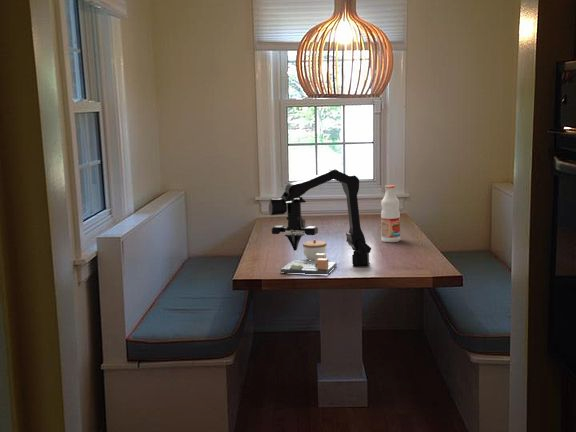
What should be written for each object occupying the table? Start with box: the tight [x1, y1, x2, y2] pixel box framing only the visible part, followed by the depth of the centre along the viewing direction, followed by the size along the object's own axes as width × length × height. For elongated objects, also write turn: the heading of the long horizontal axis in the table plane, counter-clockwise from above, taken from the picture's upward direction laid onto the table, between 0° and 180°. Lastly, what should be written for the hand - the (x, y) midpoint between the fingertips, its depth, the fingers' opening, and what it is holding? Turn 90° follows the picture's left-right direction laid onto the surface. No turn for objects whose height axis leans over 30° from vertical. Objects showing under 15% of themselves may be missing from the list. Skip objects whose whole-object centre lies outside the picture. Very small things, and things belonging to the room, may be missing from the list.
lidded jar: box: [302, 238, 327, 261], centre depth 309 cm, size 11×11×9 cm
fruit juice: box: [380, 184, 401, 243], centre depth 343 cm, size 9×9×28 cm
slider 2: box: [317, 257, 329, 270], centre depth 283 cm, size 4×3×4 cm
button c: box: [291, 264, 302, 270], centre depth 287 cm, size 4×4×3 cm
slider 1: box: [315, 253, 327, 264], centre depth 293 cm, size 4×3×4 cm
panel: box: [280, 259, 338, 275], centre depth 291 cm, size 20×16×2 cm
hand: (295, 250), depth 286 cm, fingers closed
